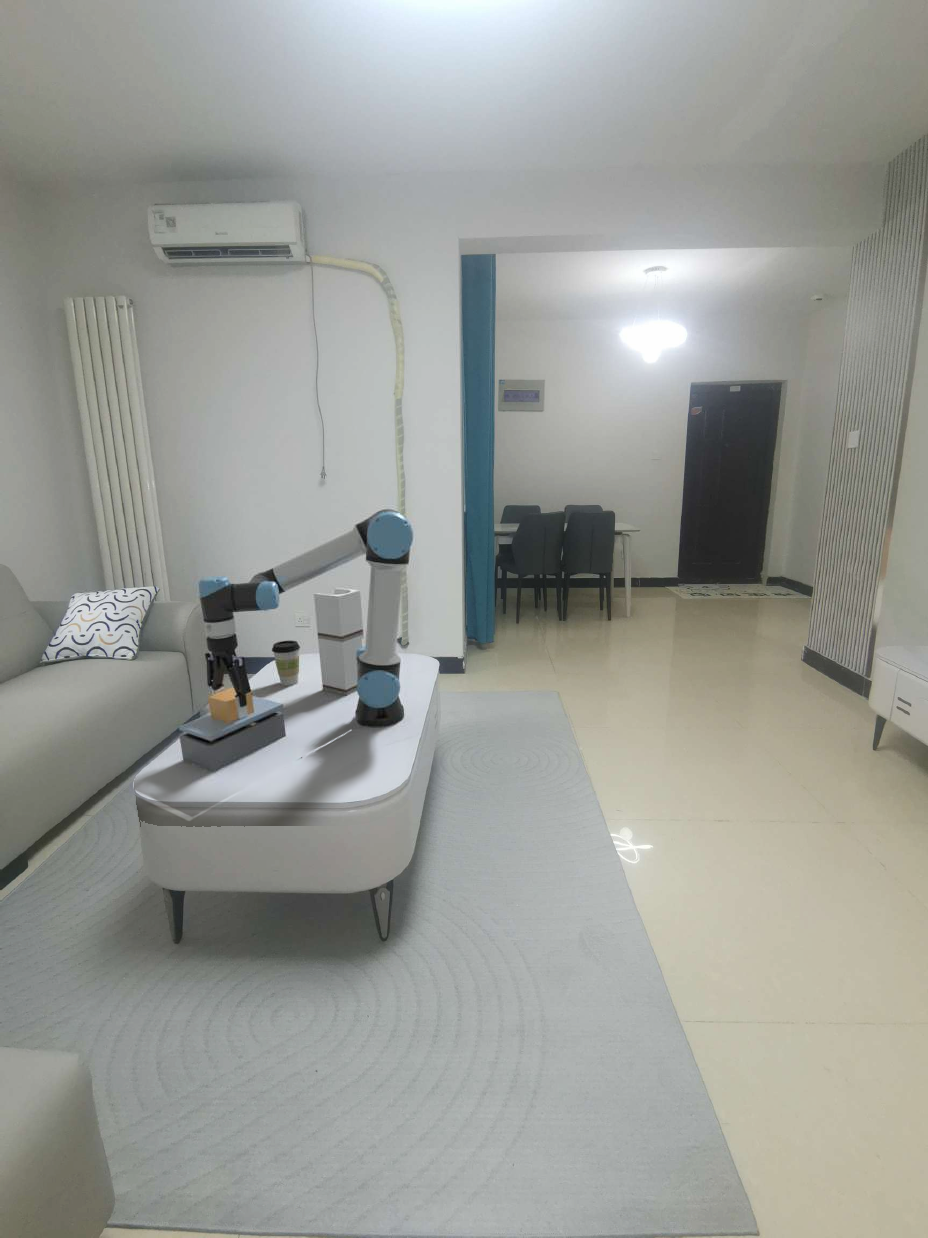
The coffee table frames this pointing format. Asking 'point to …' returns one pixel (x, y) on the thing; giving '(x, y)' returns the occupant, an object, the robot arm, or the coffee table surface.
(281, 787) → the coffee table surface
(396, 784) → the coffee table surface
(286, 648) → the coffee cup
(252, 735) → the tub
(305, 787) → the coffee table surface
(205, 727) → the lid
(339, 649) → the tall white vase
